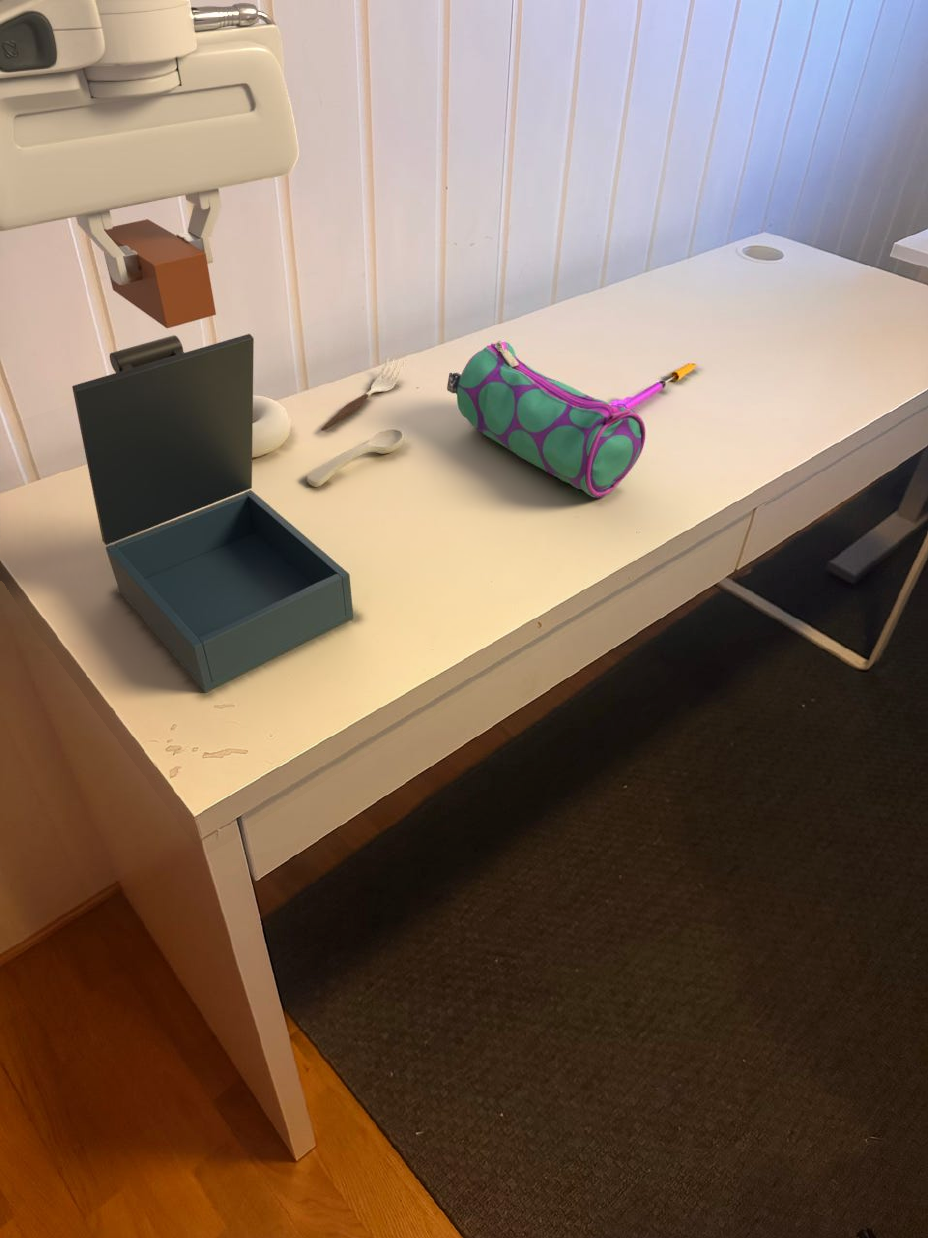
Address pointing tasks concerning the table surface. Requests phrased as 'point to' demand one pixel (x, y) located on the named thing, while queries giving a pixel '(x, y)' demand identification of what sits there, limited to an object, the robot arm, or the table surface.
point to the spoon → (378, 443)
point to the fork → (367, 394)
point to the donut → (268, 425)
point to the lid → (167, 431)
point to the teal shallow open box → (231, 587)
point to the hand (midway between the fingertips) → (162, 271)
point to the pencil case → (548, 421)
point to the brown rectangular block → (165, 274)
